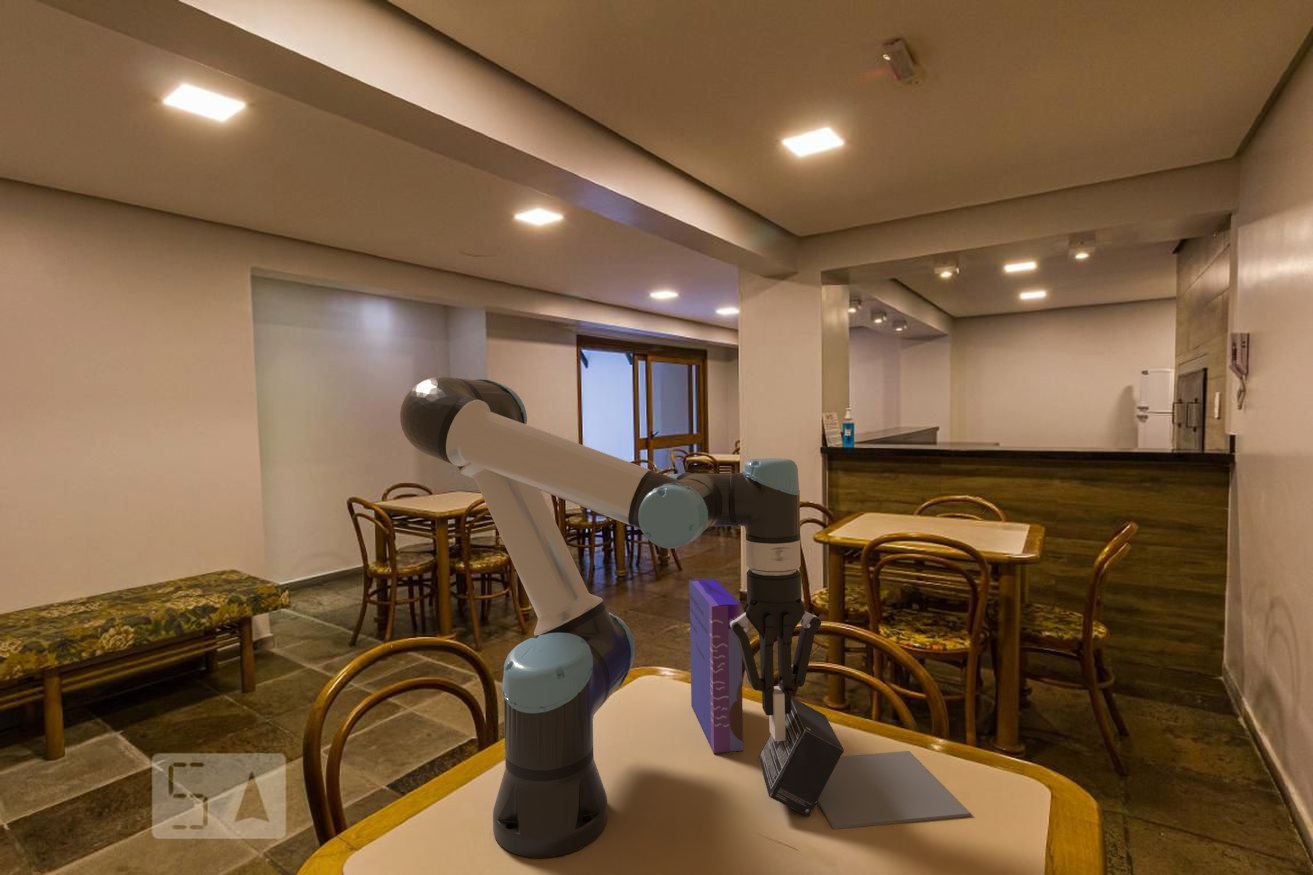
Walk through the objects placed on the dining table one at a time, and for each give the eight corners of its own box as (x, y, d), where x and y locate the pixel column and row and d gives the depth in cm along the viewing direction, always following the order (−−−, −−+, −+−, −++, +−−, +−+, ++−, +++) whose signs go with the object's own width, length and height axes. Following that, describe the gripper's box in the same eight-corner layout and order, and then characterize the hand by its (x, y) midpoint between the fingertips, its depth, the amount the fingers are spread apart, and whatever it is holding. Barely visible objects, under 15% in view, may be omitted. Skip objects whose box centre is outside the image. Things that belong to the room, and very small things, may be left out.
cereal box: (743, 751, 102) (741, 603, 101) (714, 754, 101) (711, 605, 100) (716, 703, 119) (714, 576, 118) (691, 705, 118) (689, 578, 117)
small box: (812, 820, 84) (847, 751, 84) (767, 798, 84) (803, 729, 84) (796, 775, 95) (827, 713, 94) (756, 755, 95) (788, 694, 94)
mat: (833, 828, 82) (833, 825, 82) (792, 762, 98) (792, 760, 98) (970, 815, 84) (970, 812, 84) (909, 753, 100) (909, 750, 100)
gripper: (734, 578, 84) (738, 753, 85) (828, 572, 85) (832, 745, 86) (722, 565, 91) (726, 726, 92) (809, 561, 93) (812, 719, 93)
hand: (777, 735), depth 89 cm, fingers closed
